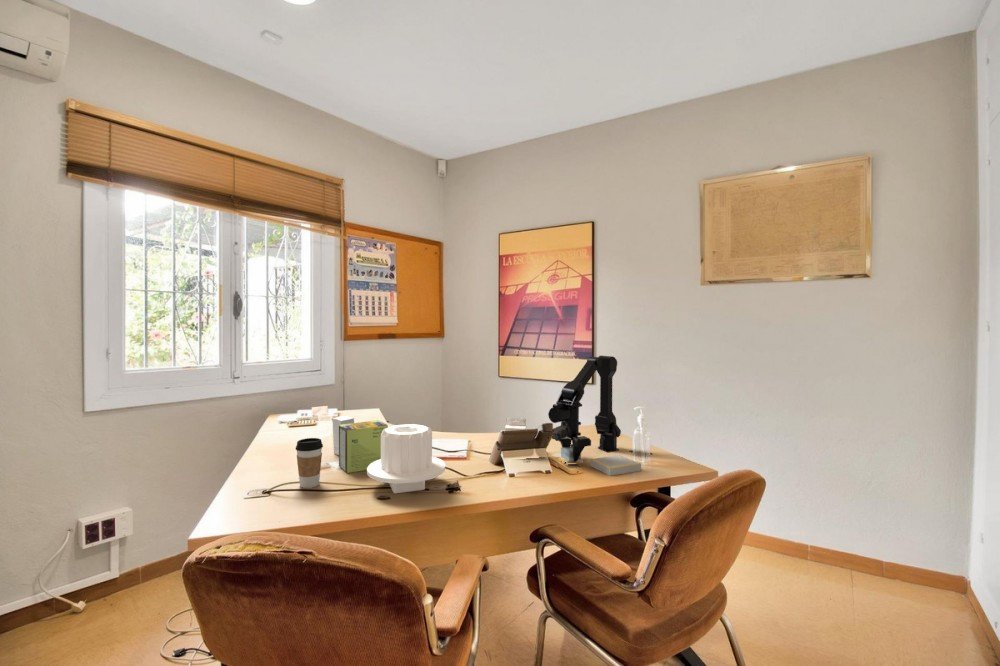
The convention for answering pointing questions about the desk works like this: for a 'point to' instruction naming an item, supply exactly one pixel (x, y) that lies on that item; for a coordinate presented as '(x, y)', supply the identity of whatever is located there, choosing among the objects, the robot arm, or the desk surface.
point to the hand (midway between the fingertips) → (570, 459)
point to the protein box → (360, 444)
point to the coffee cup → (309, 461)
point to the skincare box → (336, 423)
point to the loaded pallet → (569, 455)
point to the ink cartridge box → (515, 424)
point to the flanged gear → (406, 458)
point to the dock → (615, 465)
